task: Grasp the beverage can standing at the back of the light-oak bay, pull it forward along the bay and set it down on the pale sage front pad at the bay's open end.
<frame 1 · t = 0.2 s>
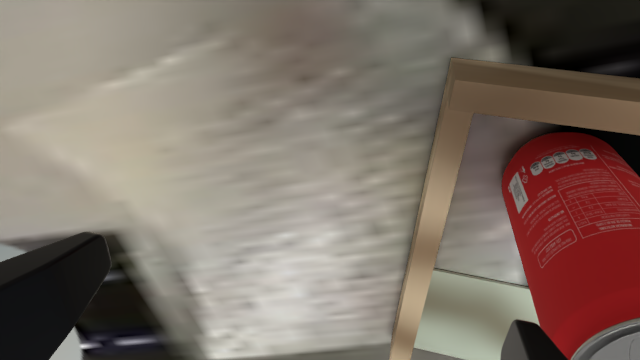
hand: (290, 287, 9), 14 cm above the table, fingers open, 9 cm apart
bay: (524, 250, 23), on the table
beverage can: (553, 170, 21), resting in bay
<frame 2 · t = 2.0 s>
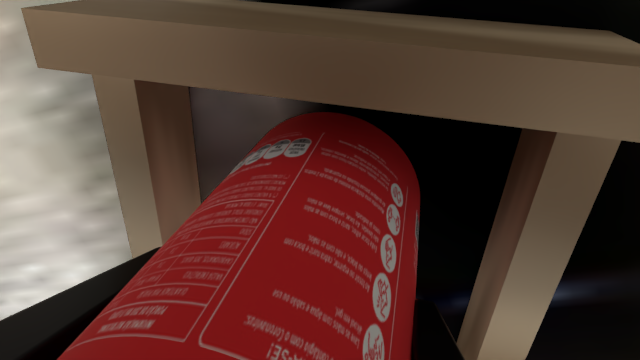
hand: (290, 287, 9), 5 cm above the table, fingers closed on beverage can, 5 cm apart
bay: (328, 294, 16), on the table
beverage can: (338, 175, 13), resting in bay, touching gripper
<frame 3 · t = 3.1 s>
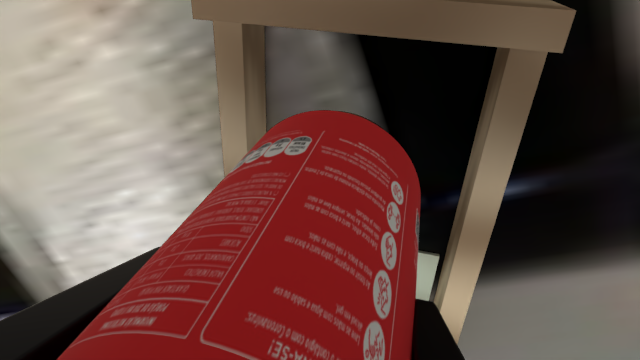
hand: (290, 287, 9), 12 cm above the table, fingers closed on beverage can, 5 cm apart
bay: (357, 199, 21), on the table
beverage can: (339, 174, 13), point 7 cm above the table, touching gripper
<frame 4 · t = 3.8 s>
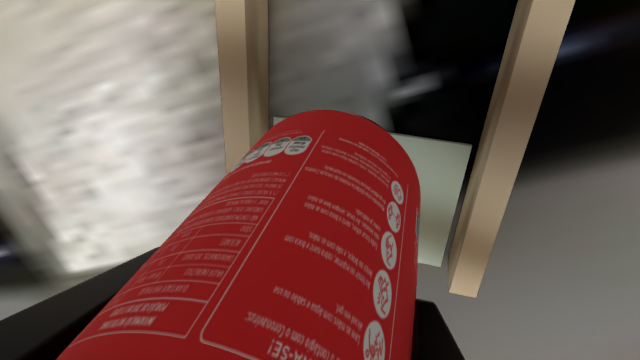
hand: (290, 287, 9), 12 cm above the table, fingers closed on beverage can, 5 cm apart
bay: (375, 76, 18), on the table
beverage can: (339, 173, 13), point 6 cm above the table, touching gripper
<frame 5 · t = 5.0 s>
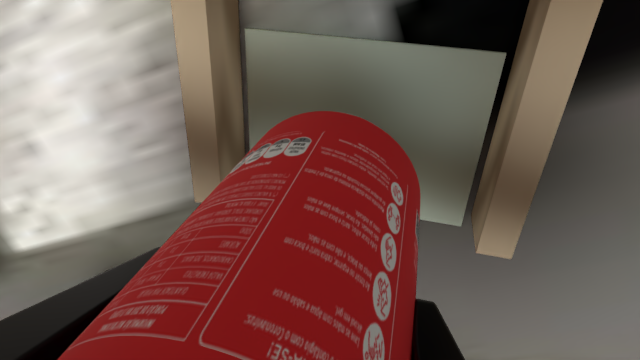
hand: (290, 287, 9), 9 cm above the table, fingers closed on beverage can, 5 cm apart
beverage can: (338, 174, 13), point 4 cm above the table, touching gripper
when the fingers open (6 cm above the table, at t = 5.9 s): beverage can stays where it is, resting on bay.
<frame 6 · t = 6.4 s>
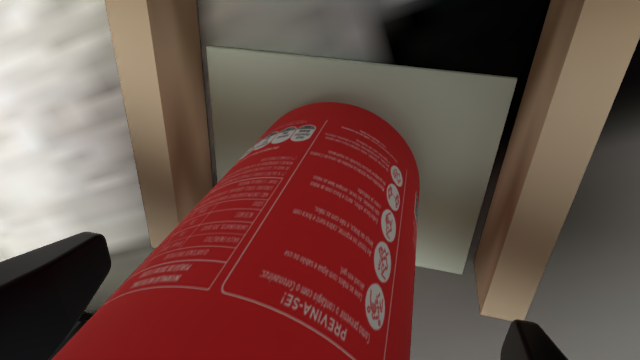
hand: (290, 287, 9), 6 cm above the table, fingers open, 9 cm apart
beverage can: (342, 164, 14), resting on bay
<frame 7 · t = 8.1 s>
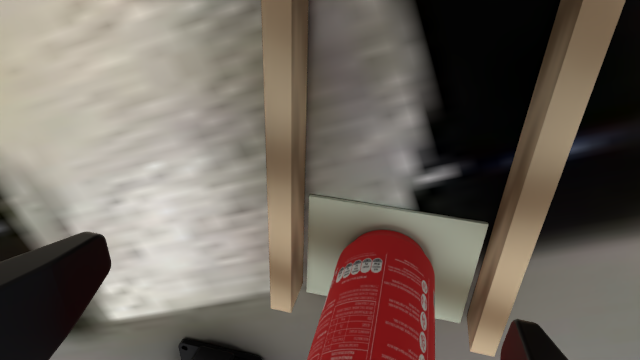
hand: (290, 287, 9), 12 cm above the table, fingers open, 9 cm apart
bay: (401, 165, 20), on the table
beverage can: (386, 259, 23), resting on bay
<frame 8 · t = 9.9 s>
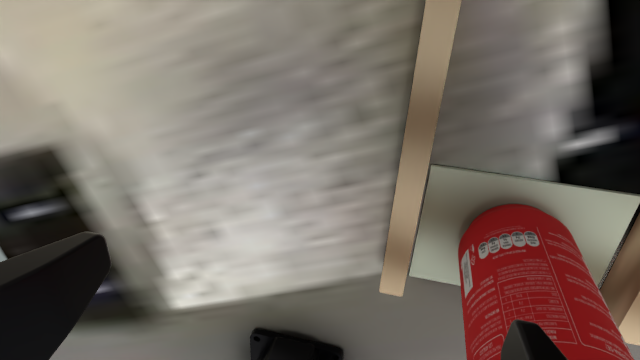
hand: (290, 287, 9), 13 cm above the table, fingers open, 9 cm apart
bay: (548, 128, 18), on the table
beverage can: (510, 238, 21), resting on bay
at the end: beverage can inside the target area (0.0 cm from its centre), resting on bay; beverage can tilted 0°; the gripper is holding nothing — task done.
